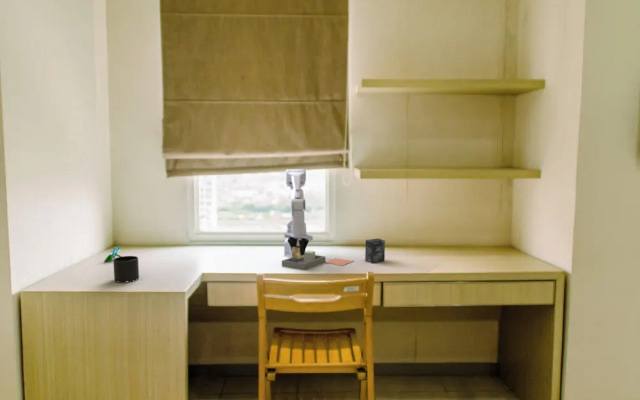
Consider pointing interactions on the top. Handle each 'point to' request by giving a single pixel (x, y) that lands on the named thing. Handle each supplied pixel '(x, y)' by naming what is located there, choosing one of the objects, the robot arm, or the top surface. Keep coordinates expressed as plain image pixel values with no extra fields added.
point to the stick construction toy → (113, 254)
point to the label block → (296, 252)
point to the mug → (126, 268)
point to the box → (375, 250)
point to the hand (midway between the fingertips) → (298, 254)
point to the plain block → (309, 256)
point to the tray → (302, 262)
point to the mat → (339, 262)
